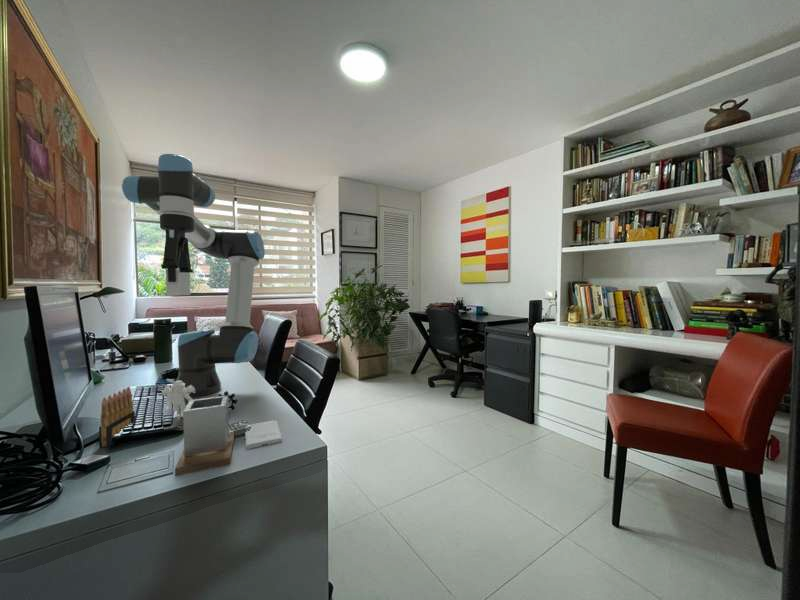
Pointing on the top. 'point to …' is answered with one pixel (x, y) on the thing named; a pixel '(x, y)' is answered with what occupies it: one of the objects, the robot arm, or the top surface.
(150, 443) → the top surface
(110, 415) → the ammunition clip
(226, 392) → the valve
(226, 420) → the square pen holder
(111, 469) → the top surface
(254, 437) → the external hard drive
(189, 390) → the hat wearing toy figure
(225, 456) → the shaft stand
